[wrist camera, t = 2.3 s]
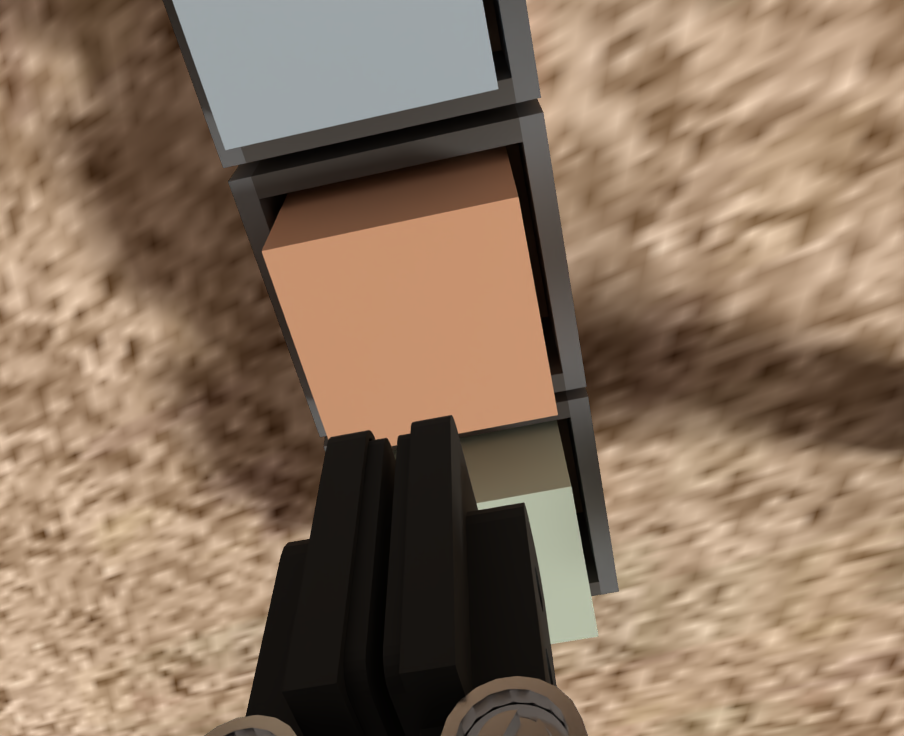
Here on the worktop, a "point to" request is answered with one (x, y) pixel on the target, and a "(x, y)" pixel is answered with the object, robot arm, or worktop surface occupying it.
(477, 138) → the gray compartment tray
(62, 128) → the worktop surface
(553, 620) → the sage key
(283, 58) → the slate key
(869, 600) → the worktop surface
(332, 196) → the terracotta key
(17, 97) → the worktop surface
